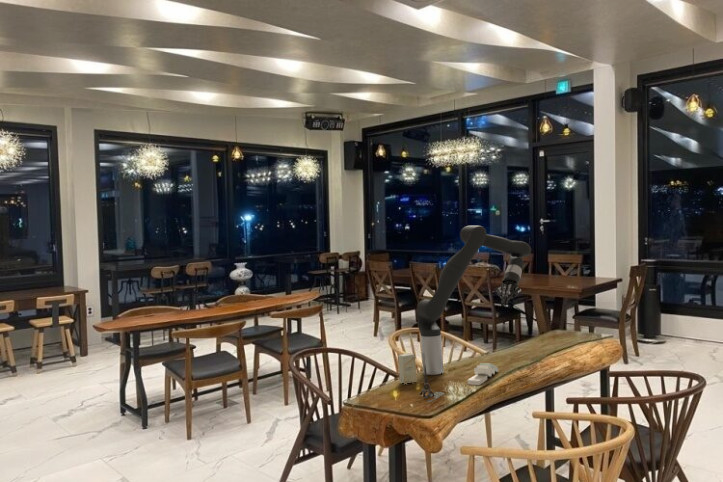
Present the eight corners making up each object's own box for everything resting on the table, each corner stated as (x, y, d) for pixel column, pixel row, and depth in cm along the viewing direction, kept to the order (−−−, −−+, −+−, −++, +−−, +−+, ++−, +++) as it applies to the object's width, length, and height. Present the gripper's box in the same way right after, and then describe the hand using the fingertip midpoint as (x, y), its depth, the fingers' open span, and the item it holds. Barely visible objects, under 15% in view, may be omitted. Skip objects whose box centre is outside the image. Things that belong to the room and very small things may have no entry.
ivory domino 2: (487, 379, 238) (479, 385, 230) (476, 378, 241) (467, 384, 232) (487, 375, 238) (479, 380, 230) (475, 374, 241) (467, 379, 232)
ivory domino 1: (491, 376, 241) (485, 373, 233) (480, 376, 244) (473, 372, 235) (491, 372, 242) (486, 368, 234) (480, 371, 244) (474, 367, 236)
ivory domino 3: (494, 374, 245) (487, 369, 237) (483, 373, 248) (476, 369, 240) (494, 370, 246) (488, 365, 238) (483, 369, 248) (476, 364, 240)
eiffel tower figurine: (430, 403, 210) (427, 368, 210) (407, 401, 216) (404, 366, 216) (448, 393, 222) (446, 359, 223) (426, 391, 228) (423, 358, 228)
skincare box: (404, 385, 238) (402, 356, 238) (399, 383, 242) (397, 354, 242) (417, 382, 241) (415, 354, 241) (411, 380, 245) (409, 352, 245)
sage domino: (498, 372, 249) (490, 367, 241) (487, 371, 252) (479, 367, 244) (498, 368, 250) (491, 363, 242) (487, 367, 252) (479, 362, 244)
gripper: (496, 271, 275) (487, 299, 265) (523, 270, 266) (514, 299, 257) (502, 281, 279) (493, 309, 269) (528, 280, 271) (519, 309, 261)
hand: (503, 304), depth 263 cm, fingers closed
